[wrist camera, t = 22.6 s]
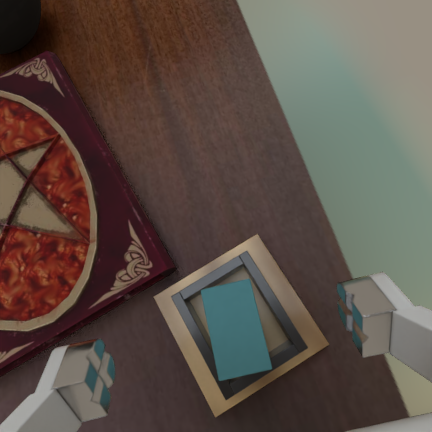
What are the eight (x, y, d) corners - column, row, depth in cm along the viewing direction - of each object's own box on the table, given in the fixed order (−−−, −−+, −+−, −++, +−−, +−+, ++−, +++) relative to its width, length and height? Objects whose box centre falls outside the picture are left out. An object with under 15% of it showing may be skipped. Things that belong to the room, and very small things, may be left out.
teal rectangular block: (248, 287, 28) (250, 278, 19) (262, 346, 27) (272, 369, 17) (215, 294, 29) (200, 289, 19) (228, 354, 27) (218, 381, 18)
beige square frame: (256, 237, 31) (258, 226, 27) (325, 342, 28) (339, 349, 24) (157, 297, 30) (143, 295, 26) (216, 411, 27) (211, 431, 23)
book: (178, 270, 31) (168, 262, 27) (-22, 391, 30) (-72, 407, 25) (65, 68, 39) (42, 35, 34) (-99, 154, 37) (-149, 131, 32)
